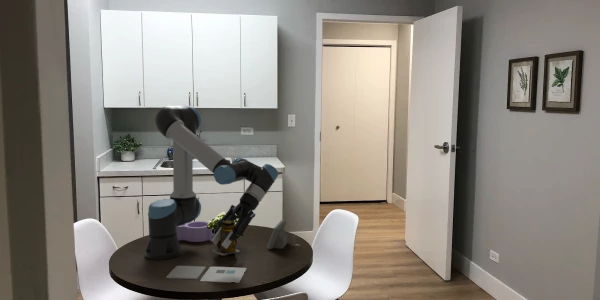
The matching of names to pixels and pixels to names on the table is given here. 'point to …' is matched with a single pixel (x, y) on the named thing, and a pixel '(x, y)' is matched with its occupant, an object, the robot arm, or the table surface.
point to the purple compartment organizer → (194, 232)
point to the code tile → (223, 274)
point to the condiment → (225, 230)
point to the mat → (186, 272)
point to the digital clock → (278, 236)
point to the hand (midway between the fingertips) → (218, 244)
